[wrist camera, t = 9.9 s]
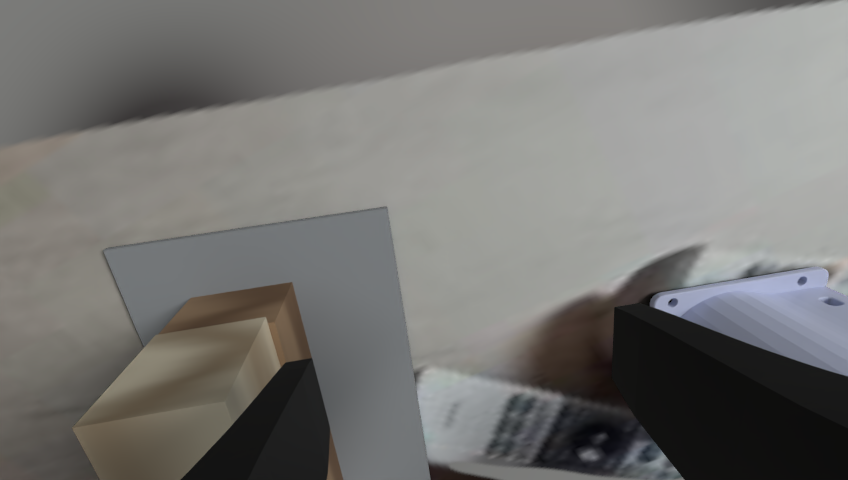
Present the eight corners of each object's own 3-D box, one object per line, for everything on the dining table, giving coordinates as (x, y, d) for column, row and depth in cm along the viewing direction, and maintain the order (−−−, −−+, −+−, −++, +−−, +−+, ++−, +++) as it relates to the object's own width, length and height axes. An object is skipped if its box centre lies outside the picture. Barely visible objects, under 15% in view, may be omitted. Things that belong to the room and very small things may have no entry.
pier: (292, 281, 19) (274, 322, 16) (313, 364, 20) (301, 416, 17) (190, 297, 19) (151, 342, 15) (219, 380, 20) (190, 436, 17)
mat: (386, 206, 19) (387, 208, 18) (433, 497, 25) (434, 502, 25) (107, 247, 18) (103, 250, 18) (227, 536, 24) (225, 542, 24)
